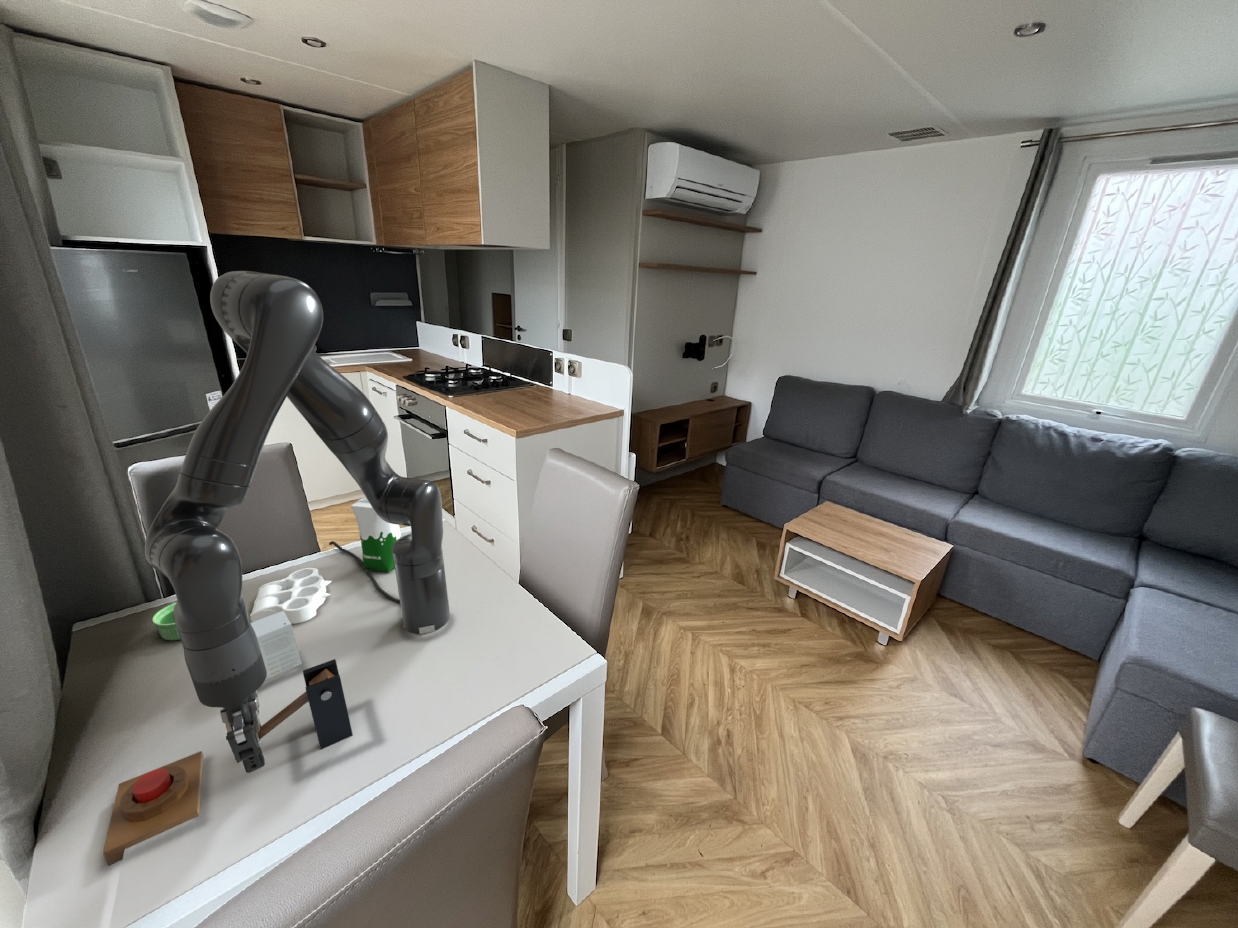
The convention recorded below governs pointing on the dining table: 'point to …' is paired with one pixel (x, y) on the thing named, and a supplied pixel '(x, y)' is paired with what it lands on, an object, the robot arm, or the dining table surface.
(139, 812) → the button block
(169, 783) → the button
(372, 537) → the milk carton
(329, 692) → the bracket
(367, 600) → the dining table surface
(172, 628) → the ramekin
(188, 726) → the dining table surface
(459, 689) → the dining table surface
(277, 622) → the small box
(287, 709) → the lever
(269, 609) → the white brass knuckles
